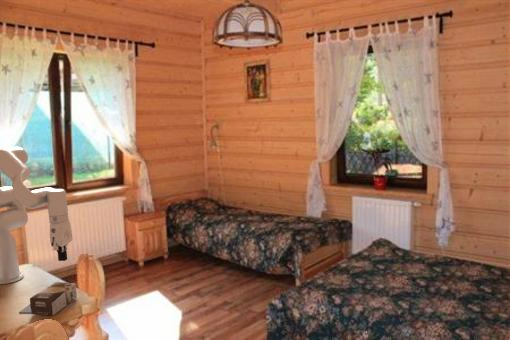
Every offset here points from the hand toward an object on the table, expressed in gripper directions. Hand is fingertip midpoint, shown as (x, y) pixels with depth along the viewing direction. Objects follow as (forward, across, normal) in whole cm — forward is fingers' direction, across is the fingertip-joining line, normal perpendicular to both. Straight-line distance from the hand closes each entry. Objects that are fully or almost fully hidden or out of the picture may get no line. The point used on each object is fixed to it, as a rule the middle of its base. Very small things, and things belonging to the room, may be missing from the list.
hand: (62, 260), depth 193 cm
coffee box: (+8, -12, -7) cm, 16 cm away
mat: (+12, -19, -1) cm, 22 cm away
